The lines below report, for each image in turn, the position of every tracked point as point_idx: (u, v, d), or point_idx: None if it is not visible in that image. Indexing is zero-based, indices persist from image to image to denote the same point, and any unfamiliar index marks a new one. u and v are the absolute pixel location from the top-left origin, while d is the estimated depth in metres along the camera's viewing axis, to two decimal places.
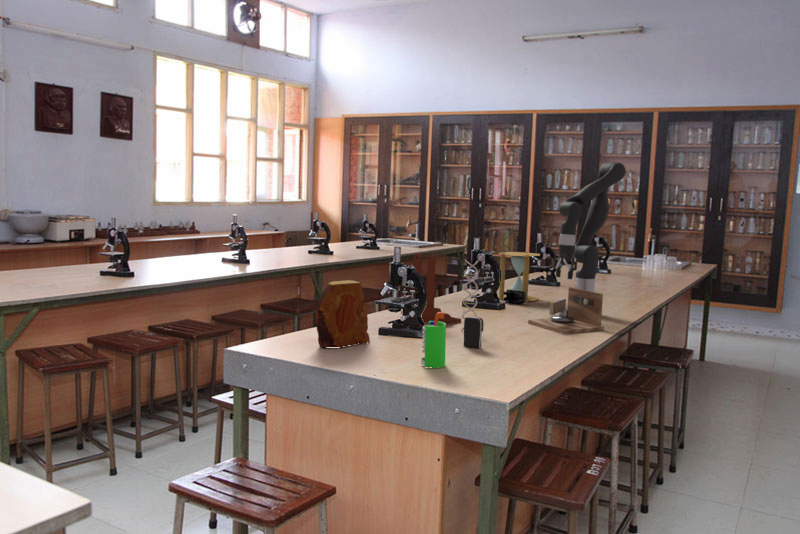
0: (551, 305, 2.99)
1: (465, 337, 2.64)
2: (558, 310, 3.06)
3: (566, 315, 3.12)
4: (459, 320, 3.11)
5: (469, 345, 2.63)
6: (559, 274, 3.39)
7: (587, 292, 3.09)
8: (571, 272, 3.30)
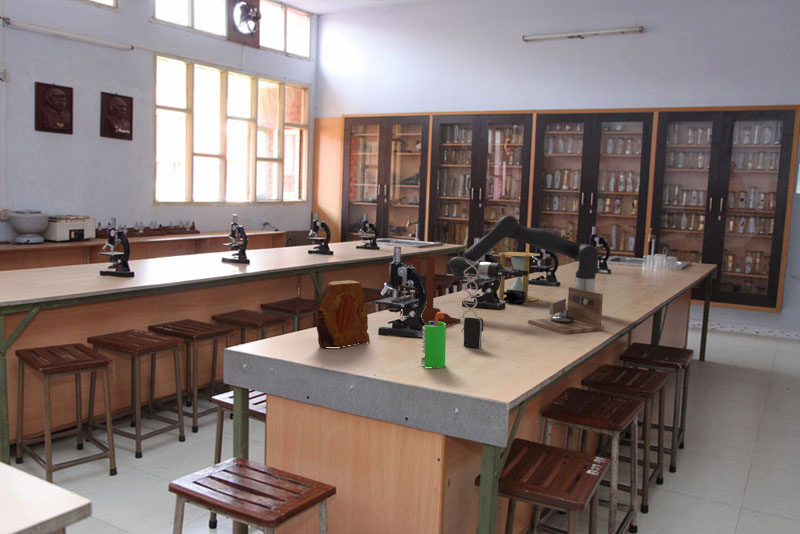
0: (551, 305, 2.99)
1: (465, 337, 2.64)
2: (558, 310, 3.06)
3: (566, 315, 3.12)
4: (458, 320, 3.11)
5: (469, 345, 2.63)
6: (525, 272, 3.14)
7: (587, 292, 3.09)
8: (514, 274, 3.09)
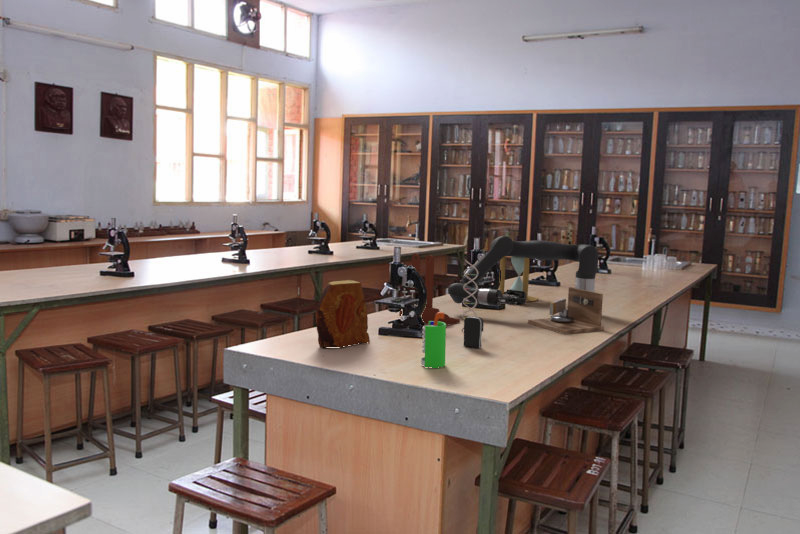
0: (551, 305, 2.99)
1: (465, 337, 2.64)
2: (558, 310, 3.06)
3: (566, 315, 3.12)
4: (457, 320, 3.10)
5: (469, 345, 2.63)
6: None
7: (587, 292, 3.09)
8: (517, 300, 3.13)
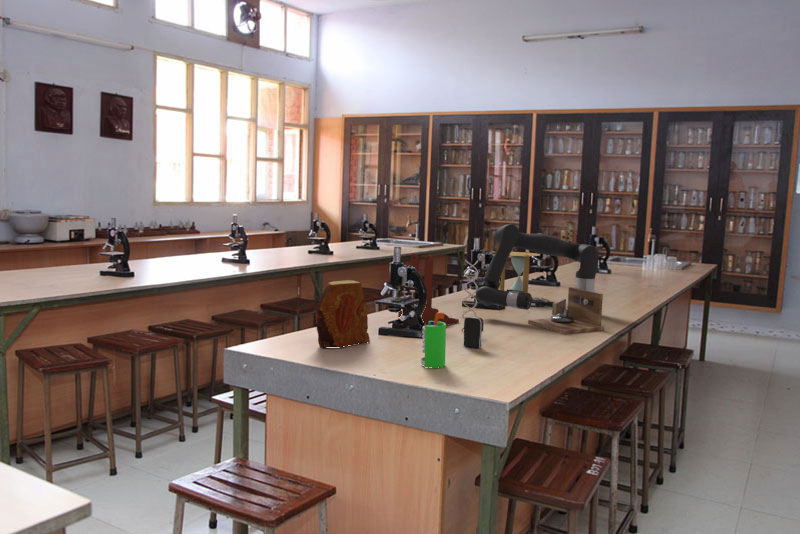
0: (554, 305, 2.99)
1: (465, 337, 2.64)
2: (560, 310, 3.05)
3: (566, 315, 3.12)
4: (457, 320, 3.10)
5: (469, 345, 2.63)
6: None
7: (587, 292, 3.09)
8: (548, 304, 3.05)
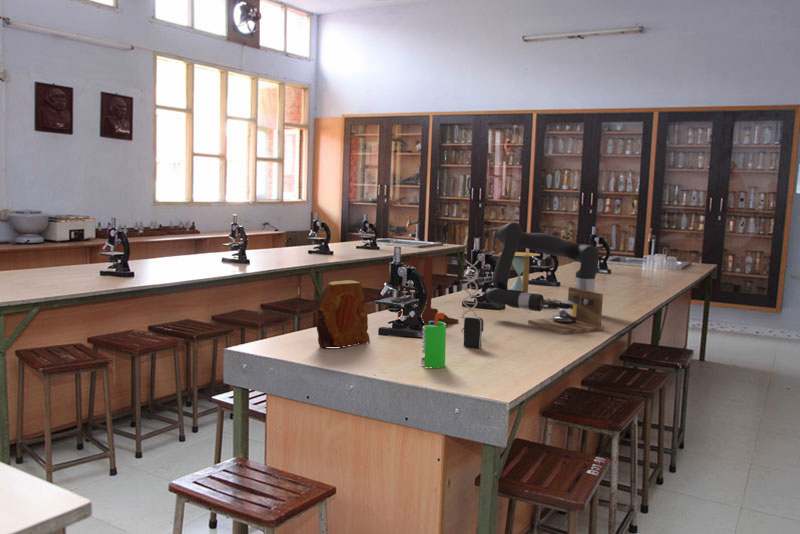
0: (574, 307, 2.97)
1: (465, 337, 2.64)
2: None
3: (567, 315, 3.13)
4: (456, 321, 3.10)
5: (469, 345, 2.63)
6: None
7: (587, 292, 3.09)
8: (560, 306, 3.02)
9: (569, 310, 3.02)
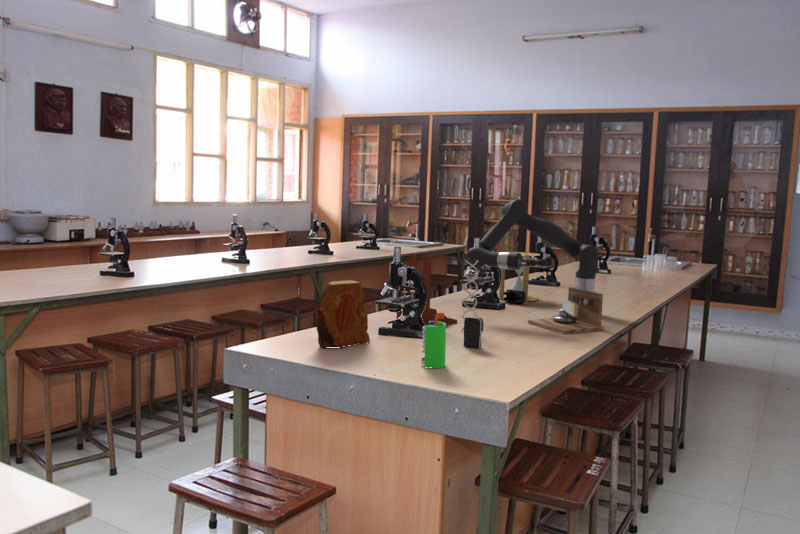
0: (576, 307, 2.97)
1: (465, 337, 2.64)
2: None
3: None
4: (455, 321, 3.09)
5: (469, 345, 2.63)
6: None
7: (587, 292, 3.09)
8: (538, 263, 3.06)
9: (570, 310, 3.02)
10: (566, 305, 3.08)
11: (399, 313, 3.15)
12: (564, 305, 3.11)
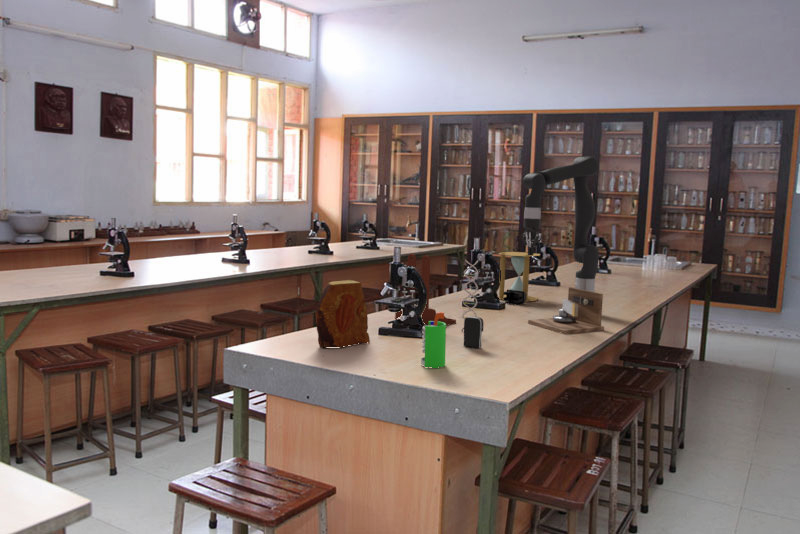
0: (576, 307, 2.97)
1: (465, 337, 2.64)
2: None
3: None
4: (454, 321, 3.09)
5: (469, 345, 2.63)
6: None
7: (587, 292, 3.09)
8: (532, 248, 3.24)
9: (570, 310, 3.02)
10: (566, 305, 3.08)
11: (398, 313, 3.15)
12: (564, 305, 3.11)
